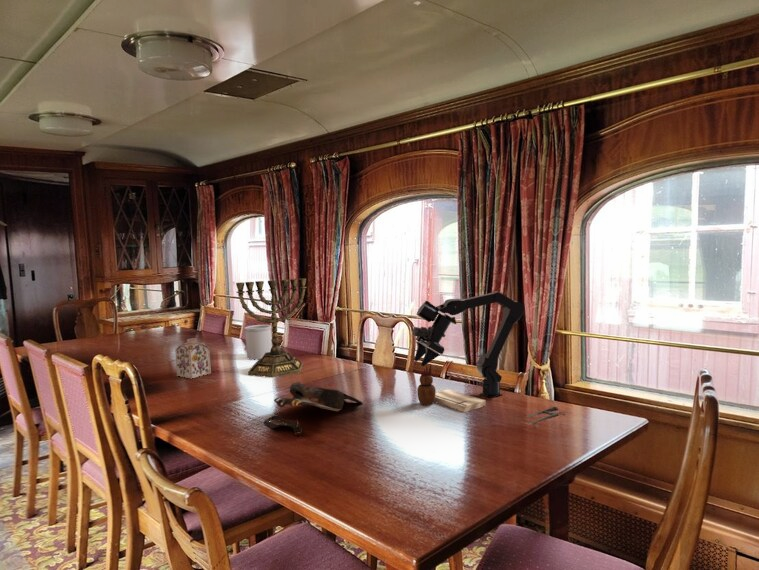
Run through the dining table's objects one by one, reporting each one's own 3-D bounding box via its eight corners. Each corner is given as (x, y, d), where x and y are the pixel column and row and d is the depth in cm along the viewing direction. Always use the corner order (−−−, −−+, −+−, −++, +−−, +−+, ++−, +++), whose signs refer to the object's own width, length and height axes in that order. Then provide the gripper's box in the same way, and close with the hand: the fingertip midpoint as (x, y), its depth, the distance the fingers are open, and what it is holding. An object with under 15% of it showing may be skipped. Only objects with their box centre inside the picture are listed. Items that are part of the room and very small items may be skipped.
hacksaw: (554, 409, 183) (554, 405, 183) (579, 417, 174) (579, 412, 174) (506, 422, 170) (506, 418, 170) (529, 431, 162) (529, 427, 161)
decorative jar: (211, 373, 250) (209, 337, 249) (191, 379, 241) (189, 341, 239) (196, 371, 257) (194, 336, 256) (175, 376, 247) (173, 340, 246)
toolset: (322, 392, 208) (366, 358, 196) (342, 437, 200) (390, 404, 189) (245, 404, 176) (292, 364, 164) (266, 458, 168) (317, 420, 156)
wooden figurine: (437, 402, 193) (436, 363, 192) (433, 407, 188) (432, 367, 187) (419, 401, 196) (419, 362, 195) (416, 405, 190) (415, 366, 189)
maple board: (448, 394, 204) (448, 388, 204) (485, 405, 188) (485, 400, 187) (427, 399, 197) (427, 394, 197) (464, 412, 181) (464, 406, 181)
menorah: (298, 360, 274) (295, 277, 271) (320, 369, 254) (317, 279, 250) (232, 371, 254) (227, 281, 251) (250, 381, 233) (245, 283, 230)
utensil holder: (241, 360, 280) (239, 328, 279) (252, 354, 295) (251, 324, 294) (266, 360, 278) (265, 328, 277) (276, 354, 293) (275, 324, 291)
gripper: (415, 315, 204) (395, 349, 203) (429, 320, 186) (407, 357, 185) (437, 329, 207) (418, 362, 206) (453, 335, 188) (432, 372, 187)
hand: (418, 363), depth 196 cm, fingers open, 9 cm apart
